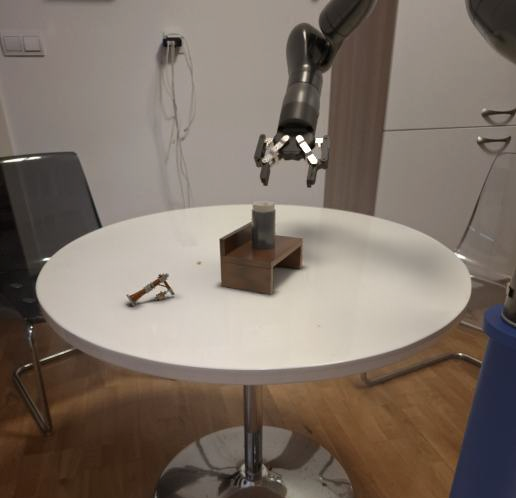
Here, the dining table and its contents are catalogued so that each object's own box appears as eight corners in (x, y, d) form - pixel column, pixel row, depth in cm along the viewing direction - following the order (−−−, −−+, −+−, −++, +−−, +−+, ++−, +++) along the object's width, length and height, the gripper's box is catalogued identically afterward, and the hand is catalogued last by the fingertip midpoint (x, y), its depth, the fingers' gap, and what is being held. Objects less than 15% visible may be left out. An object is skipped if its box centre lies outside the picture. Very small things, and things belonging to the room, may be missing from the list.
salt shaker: (278, 244, 94) (279, 201, 90) (269, 250, 90) (269, 206, 87) (258, 241, 96) (257, 199, 92) (248, 247, 92) (247, 204, 88)
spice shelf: (302, 267, 100) (303, 223, 96) (270, 294, 88) (270, 245, 83) (257, 260, 104) (257, 218, 100) (221, 286, 91) (219, 238, 87)
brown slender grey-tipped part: (180, 292, 86) (167, 271, 83) (141, 317, 85) (127, 297, 82) (176, 289, 88) (164, 268, 85) (138, 313, 86) (125, 293, 84)
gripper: (261, 99, 95) (246, 170, 91) (334, 99, 92) (322, 173, 88) (267, 127, 102) (254, 194, 98) (336, 128, 99) (325, 197, 95)
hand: (286, 184), depth 93 cm, fingers open, 8 cm apart
